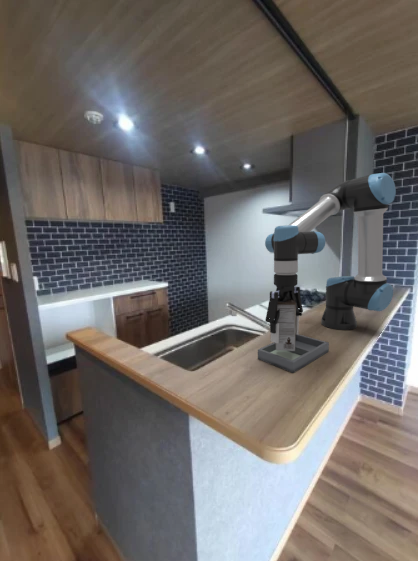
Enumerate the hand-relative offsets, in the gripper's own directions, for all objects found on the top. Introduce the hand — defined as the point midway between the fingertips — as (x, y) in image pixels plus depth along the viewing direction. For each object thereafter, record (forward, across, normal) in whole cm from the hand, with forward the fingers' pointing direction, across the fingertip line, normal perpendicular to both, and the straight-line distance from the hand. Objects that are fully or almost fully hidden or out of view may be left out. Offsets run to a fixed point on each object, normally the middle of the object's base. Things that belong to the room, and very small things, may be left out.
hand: (284, 337), depth 89 cm
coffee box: (+3, 0, 0) cm, 3 cm away
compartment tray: (+8, -6, 0) cm, 10 cm away
